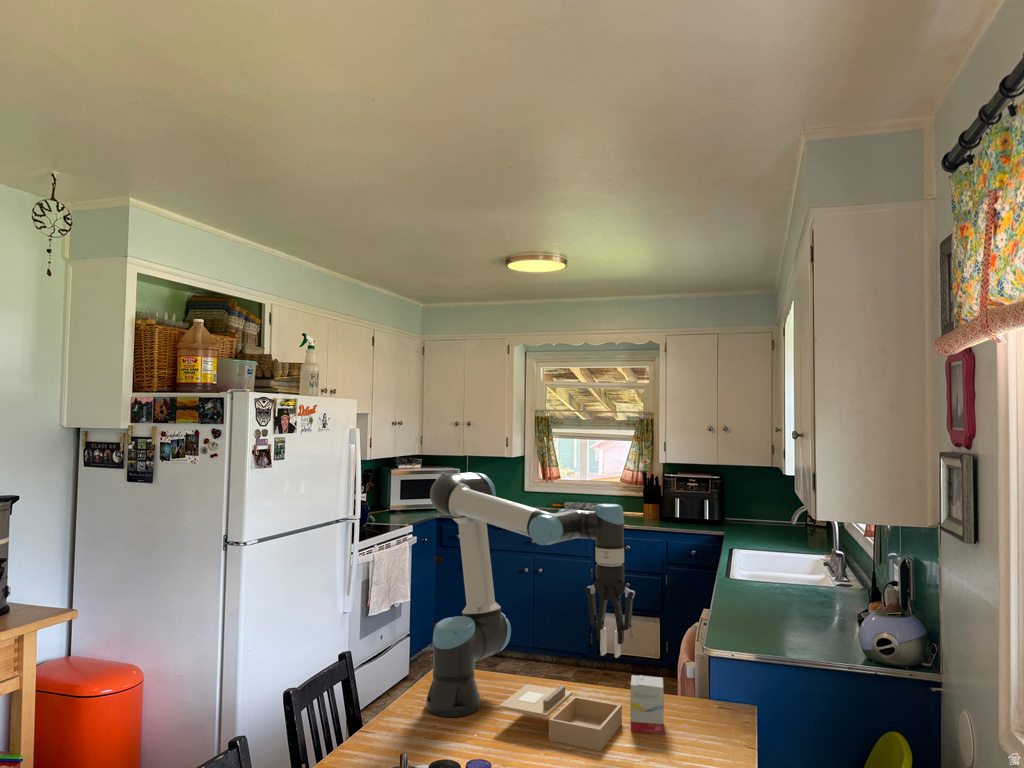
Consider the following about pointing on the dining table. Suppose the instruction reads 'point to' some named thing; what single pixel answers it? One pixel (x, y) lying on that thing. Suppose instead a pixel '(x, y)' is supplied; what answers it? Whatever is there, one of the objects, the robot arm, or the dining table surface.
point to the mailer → (585, 723)
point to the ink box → (647, 704)
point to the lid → (536, 700)
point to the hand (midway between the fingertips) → (610, 654)
